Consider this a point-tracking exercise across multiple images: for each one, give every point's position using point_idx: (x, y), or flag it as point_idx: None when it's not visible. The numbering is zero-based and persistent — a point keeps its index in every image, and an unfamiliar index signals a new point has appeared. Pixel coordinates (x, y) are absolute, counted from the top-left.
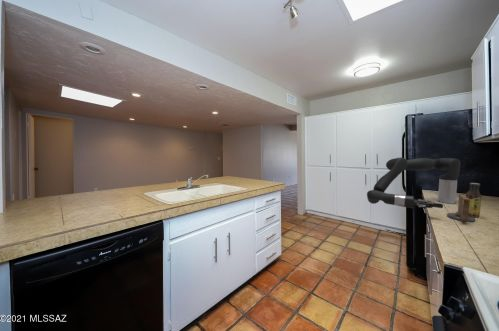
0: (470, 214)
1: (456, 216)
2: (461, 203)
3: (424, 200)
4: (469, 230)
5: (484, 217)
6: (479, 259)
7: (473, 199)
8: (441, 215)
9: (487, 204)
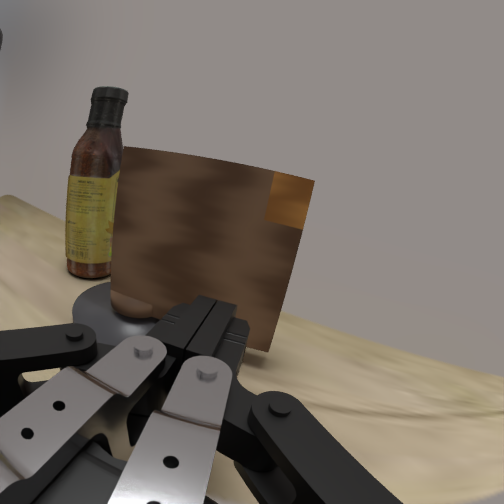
0: (104, 267)
1: (142, 327)
2: (215, 219)
3: (40, 410)
4: (374, 384)
5: None
6: None
7: (115, 177)
8: None
9: (13, 202)
